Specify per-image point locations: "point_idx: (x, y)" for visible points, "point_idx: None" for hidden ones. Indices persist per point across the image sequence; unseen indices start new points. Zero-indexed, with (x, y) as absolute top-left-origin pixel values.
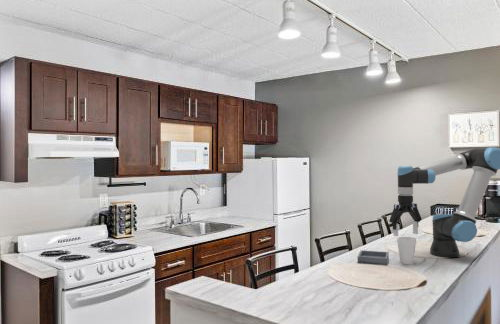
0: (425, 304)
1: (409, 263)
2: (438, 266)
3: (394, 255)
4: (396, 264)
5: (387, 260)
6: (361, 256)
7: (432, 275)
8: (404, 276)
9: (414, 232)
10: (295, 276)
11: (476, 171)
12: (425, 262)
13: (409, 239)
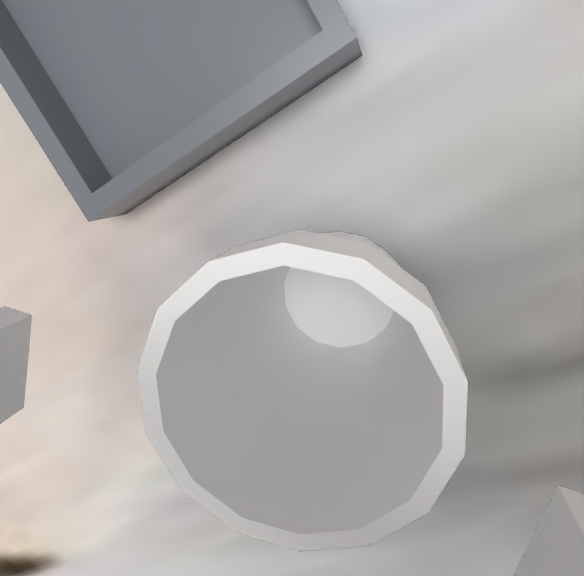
0: None
1: (306, 336)
2: (425, 530)
3: (558, 4)
4: (214, 254)
5: (154, 186)
6: None
7: (164, 565)
8: (6, 448)
9: (549, 543)
10: None
11: None
12: (482, 407)
13: (436, 383)
